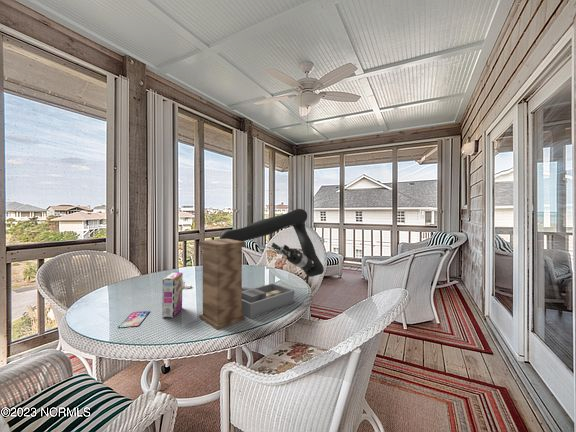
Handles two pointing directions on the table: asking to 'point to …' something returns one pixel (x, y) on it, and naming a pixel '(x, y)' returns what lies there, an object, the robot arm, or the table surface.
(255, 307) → the charcoal tray
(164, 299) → the candy bar box
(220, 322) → the walnut stand
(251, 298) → the mallet
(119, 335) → the table surface
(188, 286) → the teacup and saucer
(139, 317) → the smartphone
